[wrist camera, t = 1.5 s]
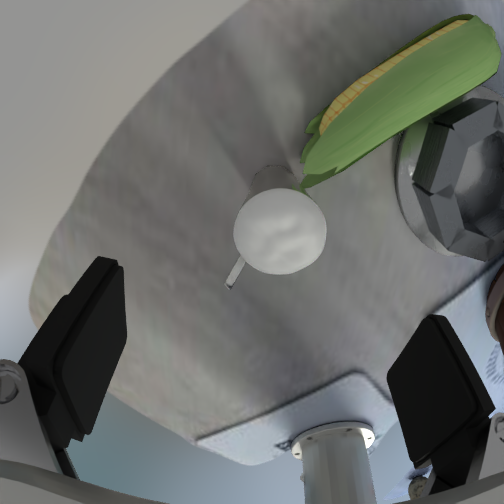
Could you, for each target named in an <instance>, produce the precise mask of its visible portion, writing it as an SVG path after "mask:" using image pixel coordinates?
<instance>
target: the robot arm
mask: <svg viewBox="0 0 504 504" xmlns="http://www.w3.org/2000/svg"><path fill="white" fill-rule="evenodd" d="M126 340H127V326H126V312H125V294H124V270H123V267H122V266H118V261H117V260H115V259H110V258H105V257H101V256H98V257H97V258H96V259H95V260H94V261H93V262H92V264H91V265H90V266H89V268H88V269H87V270H86V272H85V273H84V274H83V275H82V277H81V278H80V279H79V281H78V282H77V283H76V285H75V286H74V288H73V289H72V290H71V292H70V293H69V294H68V295H65V296H63V297H62V298H61V299H60V300H59V302H58V303H57V305H56V306H55V307H54V309H53V310H52V312H51V313H50V314H49V316H48V317H47V319H46V320H45V322H44V323H43V325H42V326H41V328H40V329H39V331H38V332H37V334H36V335H35V337H34V338H33V340H32V341H31V343H30V344H29V346H28V347H27V349H26V351H25V352H24V354H23V355H22V357H21V359H20V360H19V362H18V363H15V362H13V361H11V360H6V359H1V360H0V504H168V503H163V502H158V501H153V500H148V499H144V498H139V497H135V496H131V495H128V494H124V493H120V492H116V491H113V490H109V489H106V488H103V487H99V486H96V485H93V484H90V483H87V482H84V481H80V479H79V477H78V475H77V472H76V470H75V468H74V466H73V464H72V461H71V459H70V457H69V455H68V452H67V450H66V448H67V447H68V445H69V443H70V440H71V438H72V439H75V440H78V441H81V442H82V441H83V438H84V435H85V434H87V435H89V434H90V433H91V432H92V430H93V427H94V424H95V421H96V418H97V416H98V412H99V410H100V407H101V405H102V402H103V399H104V397H105V394H106V391H107V389H108V386H109V384H110V381H111V379H112V376H113V373H114V371H115V368H116V366H117V364H118V361H119V359H120V356H121V354H122V351H123V349H124V347H125V344H126ZM387 383H388V386H389V389H390V392H391V395H392V399H393V402H394V405H395V408H396V412H397V415H398V418H399V422H400V425H401V428H402V432H403V436H404V439H405V443H406V447H407V450H408V454H409V458H410V460H411V461H412V462H413V464H414V468H415V469H420V468H425V467H428V466H429V465H431V464H432V466H433V468H432V470H431V473H430V475H429V477H428V480H427V482H426V484H425V487H424V489H423V491H422V493H421V495H420V497H419V498H417V499H413V500H408V501H404V502H399V503H394V504H504V413H497V414H495V415H494V416H493V417H492V418H491V419H489V417H488V416H489V415H490V414H491V413H492V412H493V411H494V410H495V409H496V408H495V406H494V404H493V402H492V400H491V398H490V396H489V394H488V392H487V390H486V388H485V386H484V384H483V382H482V380H481V378H480V376H479V374H478V372H477V370H476V368H475V366H474V365H473V363H472V361H471V359H470V357H469V355H468V354H467V352H466V350H465V348H464V347H463V345H462V343H461V341H460V340H459V338H458V336H457V334H456V333H455V331H454V329H453V328H452V326H451V324H450V323H449V321H448V319H447V318H446V317H445V316H442V315H434V314H430V315H428V316H427V317H426V318H424V319H423V320H422V321H421V323H420V325H419V326H418V328H417V329H416V331H415V333H414V334H413V336H412V337H411V339H410V340H409V342H408V343H407V345H406V346H405V348H404V349H403V351H402V352H401V354H400V355H399V357H398V358H397V359H396V361H395V362H394V364H393V365H392V367H391V368H390V369H389V371H388V373H387ZM374 438H375V435H374V431H373V429H372V427H370V426H369V425H367V424H364V423H360V422H337V423H331V424H326V425H322V426H319V427H315V428H313V429H310V430H308V431H306V432H304V433H302V434H300V435H299V436H298V437H296V438H295V439H294V440H293V442H292V444H291V452H292V455H293V456H294V457H296V458H297V459H299V460H302V461H303V473H302V474H301V476H300V478H301V480H302V481H303V482H304V493H305V504H377V503H376V497H375V491H374V485H373V480H372V474H371V469H370V464H369V459H368V454H367V448H368V447H369V446H370V445H371V444H372V443H373V441H374Z"/></svg>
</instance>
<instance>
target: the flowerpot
mask: <svg viewBox="0 0 504 504" xmlns="http://www.w3.org/2000/svg"><path fill="white" fill-rule="evenodd" d="M485 315H486V322H487V325H488V328H489V331H490V333H491V335H492V337H493V338H494V339H495V340H496V341H498V342H500V346H501V349H502V352H503V355H504V265H503V266H502V267H501V268H500V270H499V271H498V273H497V275H496V280H493V282H492V284H491V287H490V290H489V293H488V296H487V306H486V313H485Z"/></svg>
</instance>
